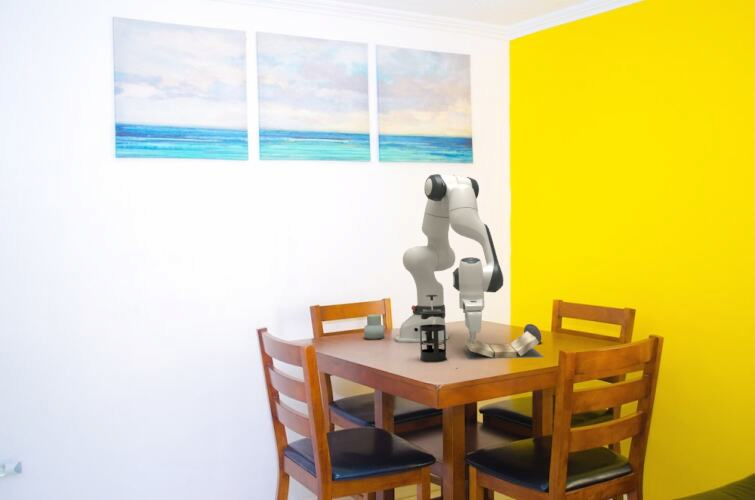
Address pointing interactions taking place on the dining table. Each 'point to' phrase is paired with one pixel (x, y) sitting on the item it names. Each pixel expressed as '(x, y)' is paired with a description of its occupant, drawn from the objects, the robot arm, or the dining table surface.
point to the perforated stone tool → (533, 331)
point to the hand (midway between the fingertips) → (472, 341)
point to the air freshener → (374, 327)
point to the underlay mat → (529, 354)
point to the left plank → (480, 348)
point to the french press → (432, 331)
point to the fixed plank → (503, 350)
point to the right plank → (524, 343)
